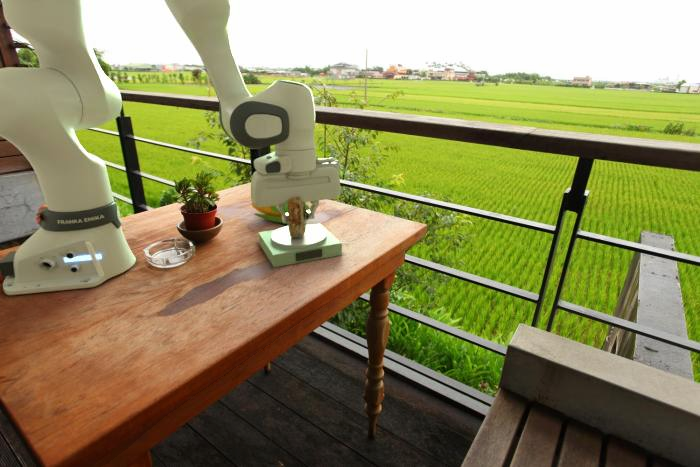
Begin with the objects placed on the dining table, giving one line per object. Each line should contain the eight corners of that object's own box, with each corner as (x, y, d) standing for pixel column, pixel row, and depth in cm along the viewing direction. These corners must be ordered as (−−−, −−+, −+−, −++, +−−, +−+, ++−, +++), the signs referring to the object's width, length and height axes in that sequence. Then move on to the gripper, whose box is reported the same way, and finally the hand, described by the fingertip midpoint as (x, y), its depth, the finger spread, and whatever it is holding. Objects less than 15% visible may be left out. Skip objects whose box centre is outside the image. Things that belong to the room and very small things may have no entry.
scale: (274, 268, 83) (273, 252, 81) (259, 243, 95) (257, 229, 93) (342, 255, 89) (342, 240, 88) (320, 233, 101) (319, 220, 100)
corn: (301, 202, 100) (241, 192, 109) (301, 230, 103) (242, 218, 111) (316, 197, 107) (258, 188, 115) (316, 223, 109) (259, 212, 117)
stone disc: (303, 243, 86) (302, 200, 82) (286, 243, 86) (284, 200, 82) (308, 227, 95) (307, 187, 91) (293, 226, 95) (291, 187, 91)
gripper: (334, 154, 91) (334, 210, 96) (246, 161, 83) (251, 221, 88) (345, 159, 86) (345, 218, 91) (252, 167, 78) (257, 231, 83)
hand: (298, 220), depth 89 cm, fingers closed on stone disc, 4 cm apart
